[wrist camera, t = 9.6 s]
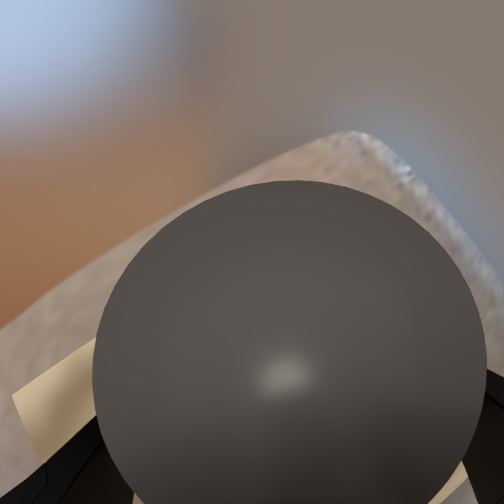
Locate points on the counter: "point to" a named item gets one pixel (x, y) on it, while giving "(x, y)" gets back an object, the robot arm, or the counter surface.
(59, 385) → the birch board
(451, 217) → the counter surface
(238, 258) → the grey cylinder
